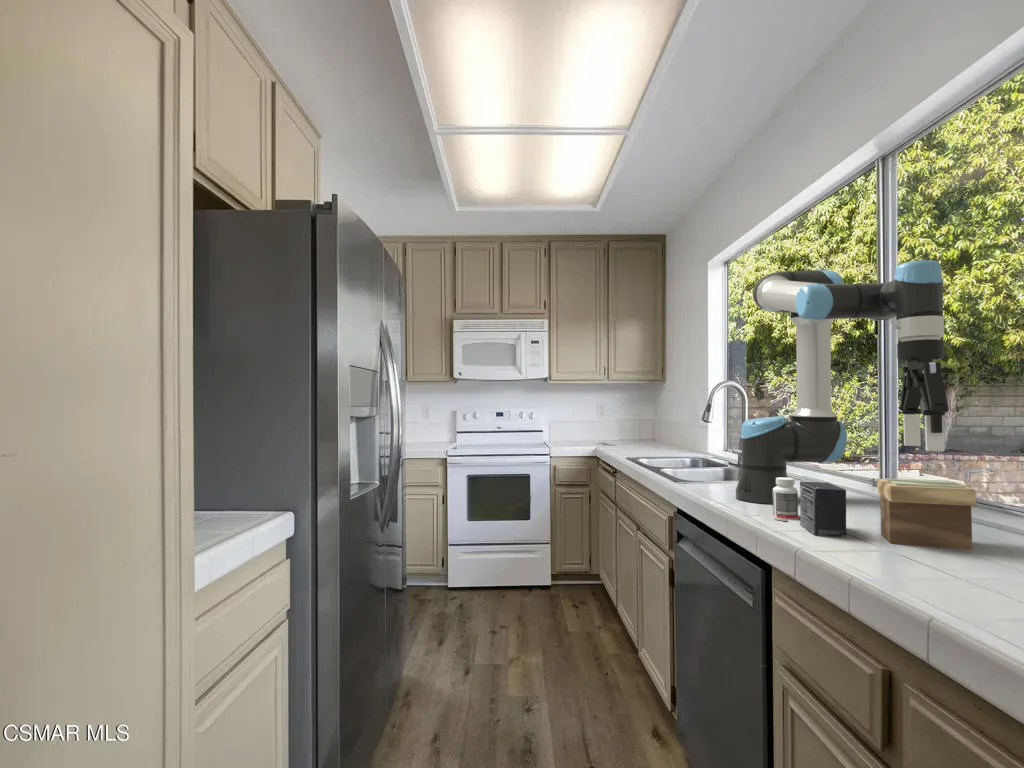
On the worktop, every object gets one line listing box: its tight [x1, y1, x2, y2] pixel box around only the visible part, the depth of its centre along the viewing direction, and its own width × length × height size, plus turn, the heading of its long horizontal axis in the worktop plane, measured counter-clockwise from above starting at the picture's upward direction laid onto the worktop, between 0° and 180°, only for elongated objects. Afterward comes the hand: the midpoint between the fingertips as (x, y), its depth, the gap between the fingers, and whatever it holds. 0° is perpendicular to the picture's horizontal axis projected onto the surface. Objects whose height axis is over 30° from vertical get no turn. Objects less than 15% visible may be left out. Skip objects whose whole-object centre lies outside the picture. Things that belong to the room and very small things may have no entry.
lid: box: [876, 477, 977, 507], centre depth 111 cm, size 10×13×3 cm
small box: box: [799, 480, 847, 538], centre depth 121 cm, size 11×6×10 cm, turn 168°
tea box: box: [879, 494, 973, 550], centre depth 111 cm, size 7×13×9 cm, turn 69°
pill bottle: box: [772, 477, 799, 522], centre depth 135 cm, size 5×5×10 cm
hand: (923, 448), depth 111 cm, fingers open, 13 cm apart
